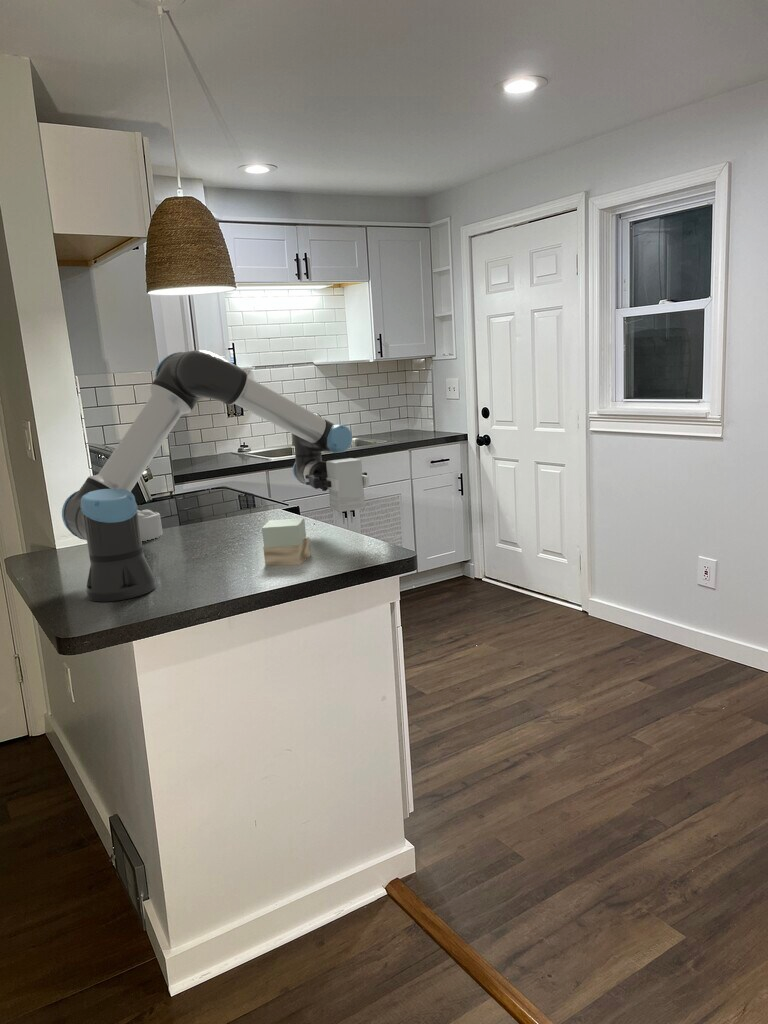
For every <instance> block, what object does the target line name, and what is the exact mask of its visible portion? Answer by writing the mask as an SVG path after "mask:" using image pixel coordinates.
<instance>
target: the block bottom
mask: <svg viewBox="0 0 768 1024" xmlns="http://www.w3.org/2000/svg"><path fill="white" fill-rule="evenodd" d="M262 549H263V557H264V565H265V566H296V565H299V566H300V565H301V564H303V562H305V561H306V560H307V559H308V558H309V557H310V555H311V556H312V554H311V543H310V537H306V538H305V539H304V541H303V542H302V543H301V545H296V546H281V547H267V548H264V546H262ZM305 559H306V560H305ZM304 560H305V561H304Z"/></svg>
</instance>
